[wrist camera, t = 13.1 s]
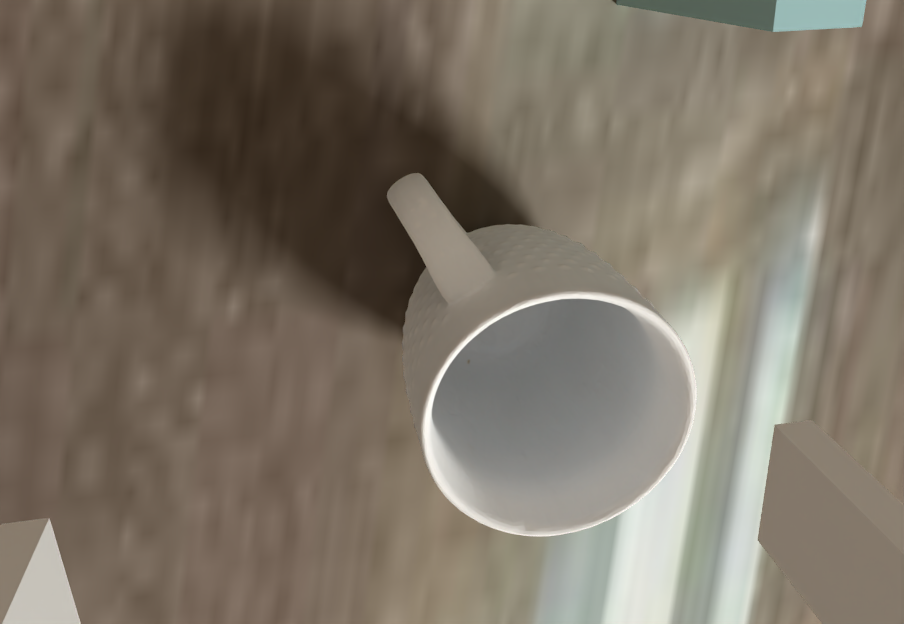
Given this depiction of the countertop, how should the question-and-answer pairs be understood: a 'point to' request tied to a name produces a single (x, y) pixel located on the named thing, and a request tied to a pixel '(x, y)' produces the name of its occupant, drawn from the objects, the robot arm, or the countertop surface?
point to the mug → (536, 374)
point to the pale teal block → (764, 12)
